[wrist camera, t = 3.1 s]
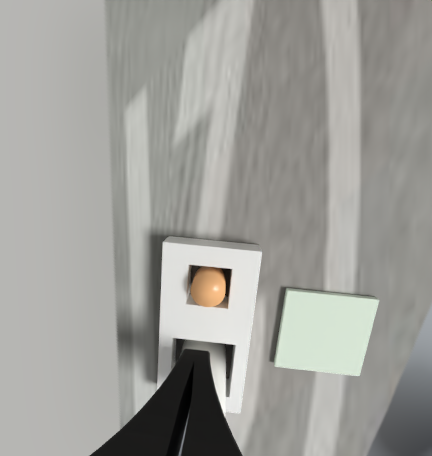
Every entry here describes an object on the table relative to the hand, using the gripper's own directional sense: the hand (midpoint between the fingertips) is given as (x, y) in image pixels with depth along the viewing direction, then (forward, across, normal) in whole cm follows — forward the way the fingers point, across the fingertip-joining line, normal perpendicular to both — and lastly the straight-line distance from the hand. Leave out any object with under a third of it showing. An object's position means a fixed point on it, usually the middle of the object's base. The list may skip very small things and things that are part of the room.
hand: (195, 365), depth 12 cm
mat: (+9, -11, +3) cm, 15 cm away
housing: (+9, 0, +4) cm, 10 cm away
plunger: (+9, 0, -1) cm, 9 cm away
